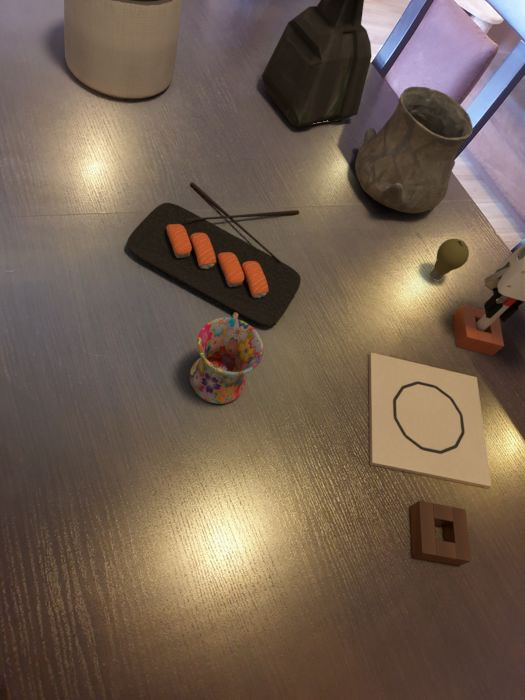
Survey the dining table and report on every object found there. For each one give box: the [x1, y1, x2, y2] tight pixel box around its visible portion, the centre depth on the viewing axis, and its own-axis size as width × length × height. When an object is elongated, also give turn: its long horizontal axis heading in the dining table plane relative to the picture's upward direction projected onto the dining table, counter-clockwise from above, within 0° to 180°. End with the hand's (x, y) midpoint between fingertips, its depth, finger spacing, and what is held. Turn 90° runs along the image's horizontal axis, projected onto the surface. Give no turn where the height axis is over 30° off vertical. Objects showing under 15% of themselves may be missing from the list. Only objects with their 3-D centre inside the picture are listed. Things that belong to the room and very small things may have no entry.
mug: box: [189, 311, 264, 405], centre depth 83 cm, size 12×9×11 cm
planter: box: [63, 0, 184, 100], centre depth 112 cm, size 22×22×20 cm
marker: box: [476, 297, 518, 331], centre depth 100 cm, size 2×2×12 cm
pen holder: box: [452, 304, 505, 357], centre depth 104 cm, size 7×7×4 cm
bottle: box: [261, 0, 373, 128], centre depth 118 cm, size 18×16×30 cm
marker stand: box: [409, 500, 472, 566], centre depth 81 cm, size 7×7×3 cm
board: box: [368, 352, 492, 489], centre depth 92 cm, size 20×20×1 cm
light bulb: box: [429, 238, 470, 281], centre depth 107 cm, size 6×6×10 cm
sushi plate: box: [126, 181, 301, 327], centre depth 101 cm, size 29×30×4 cm
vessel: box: [354, 86, 474, 214], centre depth 114 cm, size 22×22×20 cm
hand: (494, 313), depth 100 cm, fingers closed on marker, 2 cm apart
